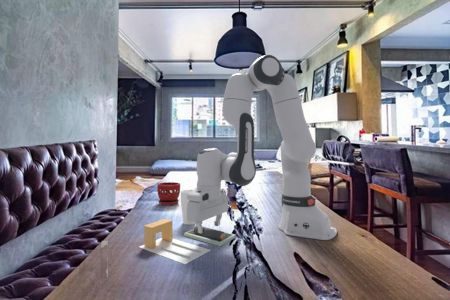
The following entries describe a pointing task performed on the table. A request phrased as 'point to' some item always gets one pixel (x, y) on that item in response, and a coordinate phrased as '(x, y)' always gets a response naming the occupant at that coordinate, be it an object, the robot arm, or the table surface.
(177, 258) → the station
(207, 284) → the table surface
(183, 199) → the drinking glass
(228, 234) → the green rectangular frame
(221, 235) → the battery
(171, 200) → the plant pot
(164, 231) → the wooden bridge piece
